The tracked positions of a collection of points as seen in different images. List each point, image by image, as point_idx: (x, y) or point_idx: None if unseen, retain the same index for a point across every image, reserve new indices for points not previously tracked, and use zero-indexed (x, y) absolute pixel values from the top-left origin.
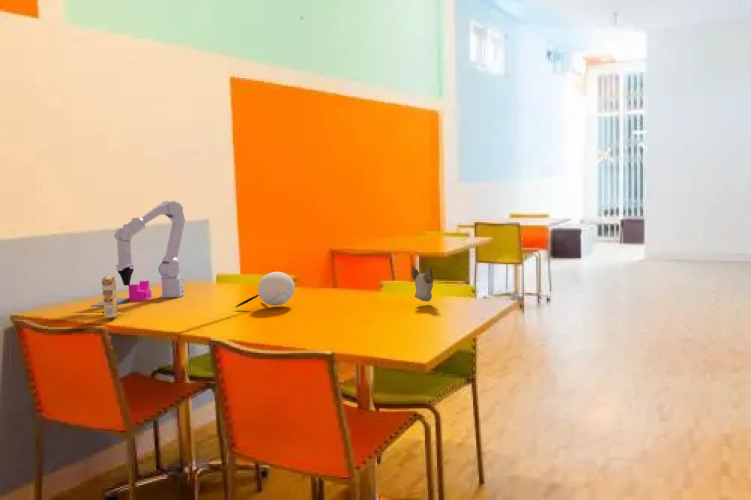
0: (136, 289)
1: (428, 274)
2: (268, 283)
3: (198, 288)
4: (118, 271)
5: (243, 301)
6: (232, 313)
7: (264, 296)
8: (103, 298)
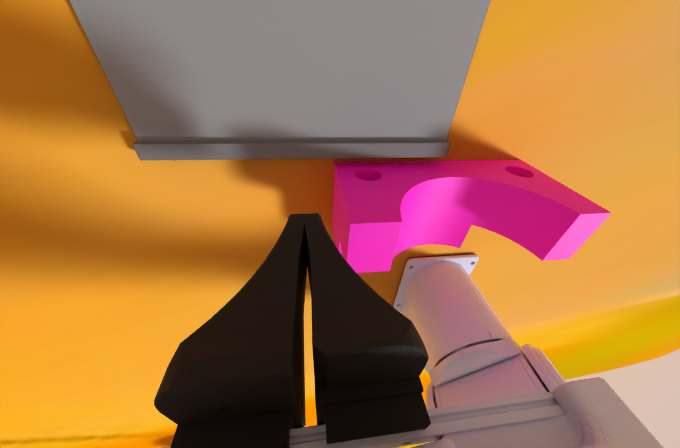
0: (341, 246)
1: None
2: None
3: (589, 290)
4: (169, 365)
5: None
6: (135, 430)
7: None
8: None
